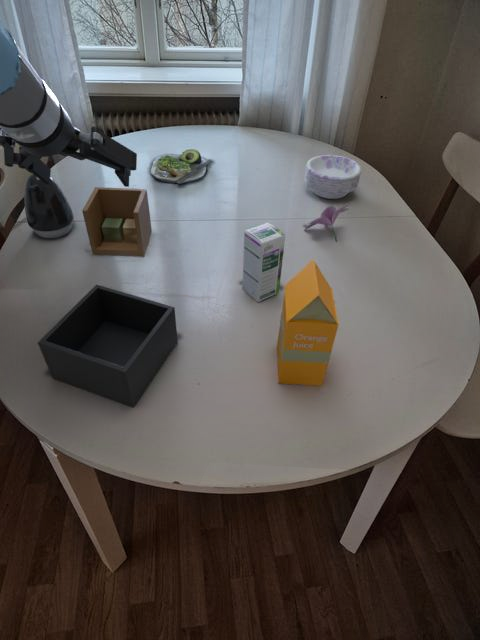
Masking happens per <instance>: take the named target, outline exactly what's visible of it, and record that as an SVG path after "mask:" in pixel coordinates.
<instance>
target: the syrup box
mask: <svg viewBox="0 0 480 640" xmlns="http://www.w3.org/2000/svg"><path fill="white" fill-rule="evenodd" d="M285 241H286V234H285V233H284V232H283V231H282V230H280V229H279V228H278V227H276V226H275V225H273V224H271V223H270V222H267V221H266V222H264V223H263V224H260V225H257V226H253V227H251V228H249V229H248V228H247V229H245V230H244V231H243V255H242V256H243V258H242V259H243V260H242V281H241V282H242V287H241V288H242V290H244V291H245V293H246V294H248V295H249V296H250V297H251V298H252V299H253V300H254V301H256V302H257V303H260V302H262V301H263V300H266V299H269V298H271V297H273V296H275V295H277V294H279V293H280V287H281V278H282V268H283V261H284V251H285V243H286V242H285Z"/></svg>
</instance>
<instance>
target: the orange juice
mask: <svg viewBox="0 0 480 640" xmlns="http://www.w3.org/2000/svg"><path fill="white" fill-rule="evenodd" d="M339 326H340V324H339V319H338V315H337V308H336V303H335V299H334V292H333V287H331V285H330V284H329V282H328V281H327V279H326V277H325V276H324V275H323V273H322V271H321V269H320V268H319V266H318V265H317V263H316V261H315V258H313V259H312V260H311V261H310V262H309V263H307V265H306V266H304V267H303V268H302V269H300V271H299V272H298V273H296V274H295V276H293V278H291V279H290V280H289V281H288V282H287V283H286V284H284V294H283V301H282V308H281V313H280V320H279V328H278V329H279V330H278V337H277V343H276V354H278V361H277V384H278V383H282V384H281V385H296V384H300V386H315V387H317V386H318V387H322V386H323V383H324V380H325V377H326V373H327V369H328V365H329V363H330V360H331V355H332V350H333V347H334V343H335V339H336V336H337V332H338V328H339ZM316 385H317V386H316Z"/></svg>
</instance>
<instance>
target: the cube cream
mask: <svg viewBox="0 0 480 640" xmlns="http://www.w3.org/2000/svg"><path fill="white" fill-rule="evenodd" d="M123 233H124V238H125V242H128V243H138V240H137V234H136V227H135V220H134V219H126V220H125V223H124V225H123Z"/></svg>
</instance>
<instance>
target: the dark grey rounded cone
mask: <svg viewBox="0 0 480 640" xmlns="http://www.w3.org/2000/svg"><path fill="white" fill-rule="evenodd" d="M23 193H24V194H23V195H24V196H23V197H24V198H23V199H24V212H25V219H26V223H27V225H28V227H30V228H31V229H32V231H33V232H34V233H35V234H36V235H37V236H39V237H41V238H44V239H57V238H61V237H64V236H65V235H68V233H70V231H71V230H72V228H73V224H74V223H73V221H74V218H75V217H74V212H73V210H72V207H71V205H70V203H69V201H68V199H67V197H66V196H65V193H64V192H63V190H62V189H61V187H60V186H59V185H58V183H57V181H56V180H55V179H54V178H53V177H52V176H50V184H45V183H44V182H43V181H41V180H40V179H39V178H38V177H36V176H35V175H34V174H33V173H30V174H29V175H28V177H27V179H26V181H25V185H24V191H23Z"/></svg>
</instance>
